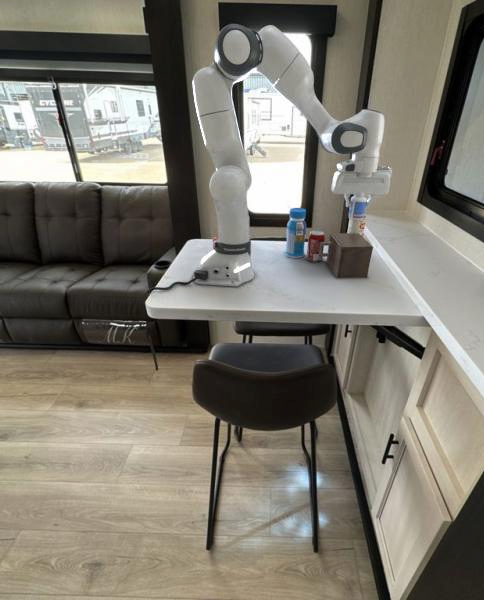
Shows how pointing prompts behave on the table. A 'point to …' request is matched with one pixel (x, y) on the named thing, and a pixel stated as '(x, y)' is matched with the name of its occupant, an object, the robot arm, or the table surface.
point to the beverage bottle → (296, 233)
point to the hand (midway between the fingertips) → (357, 206)
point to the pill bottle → (357, 206)
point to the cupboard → (354, 255)
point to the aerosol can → (357, 226)
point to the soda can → (315, 245)
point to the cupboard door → (332, 254)
